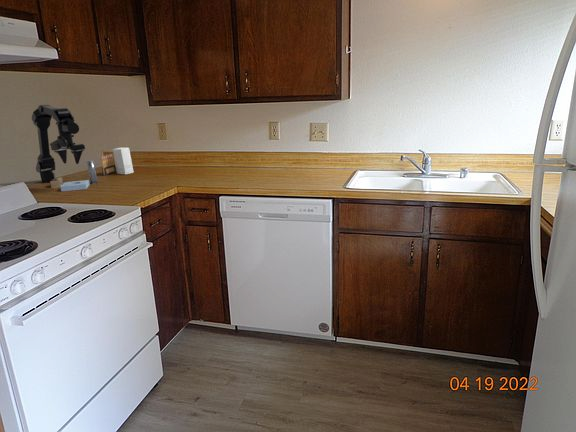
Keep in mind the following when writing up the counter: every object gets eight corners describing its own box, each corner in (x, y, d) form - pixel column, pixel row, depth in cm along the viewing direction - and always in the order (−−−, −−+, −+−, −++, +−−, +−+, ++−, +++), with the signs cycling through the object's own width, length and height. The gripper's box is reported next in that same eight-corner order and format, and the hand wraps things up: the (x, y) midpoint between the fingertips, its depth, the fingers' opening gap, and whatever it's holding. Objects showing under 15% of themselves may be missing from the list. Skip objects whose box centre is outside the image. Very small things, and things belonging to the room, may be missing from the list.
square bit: (59, 187, 228) (58, 180, 227) (51, 188, 227) (50, 181, 226) (63, 184, 236) (61, 177, 235) (55, 185, 235) (54, 178, 234)
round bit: (90, 183, 232) (86, 161, 229) (91, 182, 236) (87, 160, 232) (97, 183, 233) (93, 160, 230) (98, 182, 237) (94, 159, 233)
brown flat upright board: (105, 175, 254) (102, 156, 250) (102, 175, 254) (99, 156, 251) (116, 172, 264) (113, 153, 260) (114, 172, 264) (111, 153, 261)
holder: (61, 191, 217) (60, 186, 216) (65, 186, 228) (64, 182, 227) (86, 188, 220) (85, 184, 220) (89, 184, 231) (88, 179, 231)
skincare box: (134, 172, 259) (130, 147, 255) (125, 174, 254) (120, 149, 249) (125, 172, 264) (121, 147, 259) (116, 174, 258) (111, 148, 254)
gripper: (38, 135, 213) (45, 165, 217) (63, 135, 205) (70, 167, 210) (58, 132, 222) (64, 162, 227) (83, 132, 215) (88, 163, 219)
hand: (71, 163), depth 220 cm, fingers open, 9 cm apart
